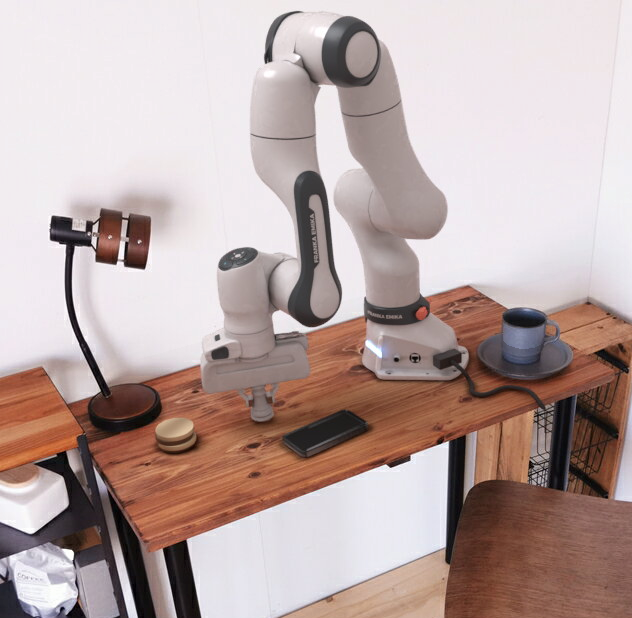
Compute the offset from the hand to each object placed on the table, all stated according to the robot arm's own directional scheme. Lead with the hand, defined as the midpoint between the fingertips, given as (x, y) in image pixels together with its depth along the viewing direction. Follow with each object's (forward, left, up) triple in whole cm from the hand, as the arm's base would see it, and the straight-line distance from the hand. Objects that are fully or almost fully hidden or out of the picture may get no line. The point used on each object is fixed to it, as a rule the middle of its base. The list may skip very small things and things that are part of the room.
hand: (260, 403), depth 172 cm
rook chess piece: (0, 0, -3) cm, 3 cm away
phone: (-14, +3, -4) cm, 15 cm away
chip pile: (+12, +12, -4) cm, 17 cm away
